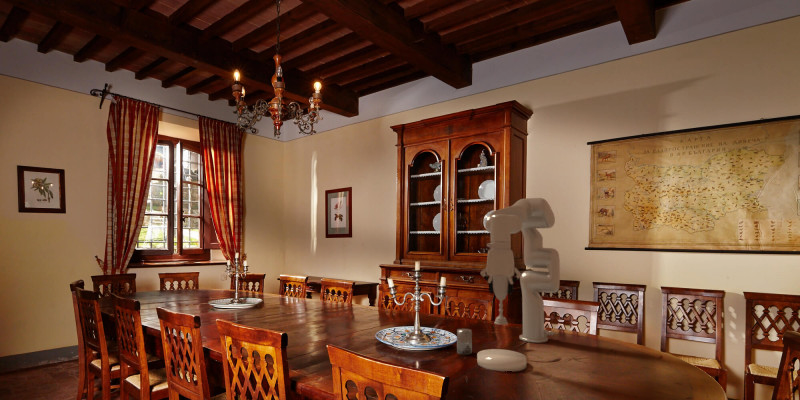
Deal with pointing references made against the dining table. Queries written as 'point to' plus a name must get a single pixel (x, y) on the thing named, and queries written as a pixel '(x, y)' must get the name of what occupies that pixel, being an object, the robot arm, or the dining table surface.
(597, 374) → the dining table surface
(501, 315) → the chalice
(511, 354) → the stand
